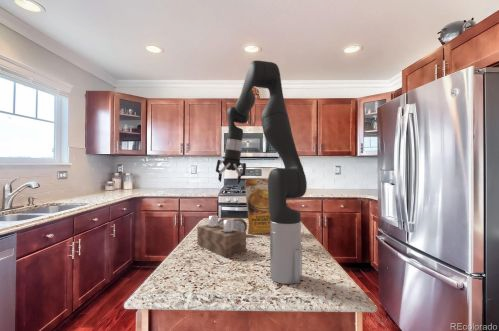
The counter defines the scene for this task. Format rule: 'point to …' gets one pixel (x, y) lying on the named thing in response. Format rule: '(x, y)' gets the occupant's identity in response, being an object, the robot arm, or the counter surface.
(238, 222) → the tin
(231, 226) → the peg
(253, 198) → the pancake mix bag
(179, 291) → the counter surface
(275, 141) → the robot arm
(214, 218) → the peg
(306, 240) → the counter surface
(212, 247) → the collar block
